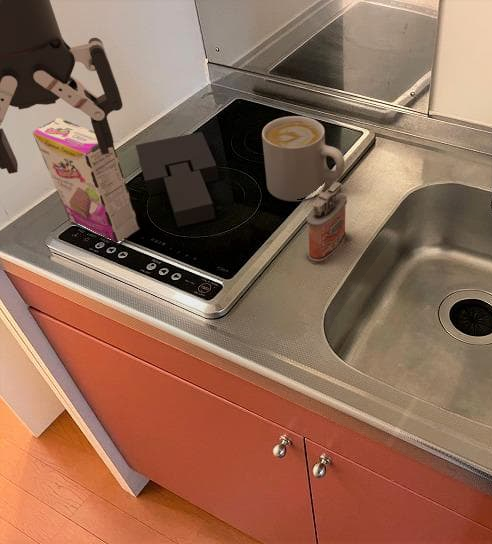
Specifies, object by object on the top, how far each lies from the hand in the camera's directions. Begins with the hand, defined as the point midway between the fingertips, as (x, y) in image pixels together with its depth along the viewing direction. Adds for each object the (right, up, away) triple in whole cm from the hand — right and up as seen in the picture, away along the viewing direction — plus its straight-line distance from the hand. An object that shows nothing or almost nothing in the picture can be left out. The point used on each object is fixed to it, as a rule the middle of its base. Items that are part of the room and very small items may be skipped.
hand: (60, 159), depth 56 cm
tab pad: (+4, +1, +39) cm, 39 cm away
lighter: (+26, -8, +29) cm, 40 cm away
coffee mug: (+23, +3, +41) cm, 47 cm away
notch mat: (0, +7, +45) cm, 46 cm away
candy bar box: (-8, -4, +34) cm, 35 cm away
